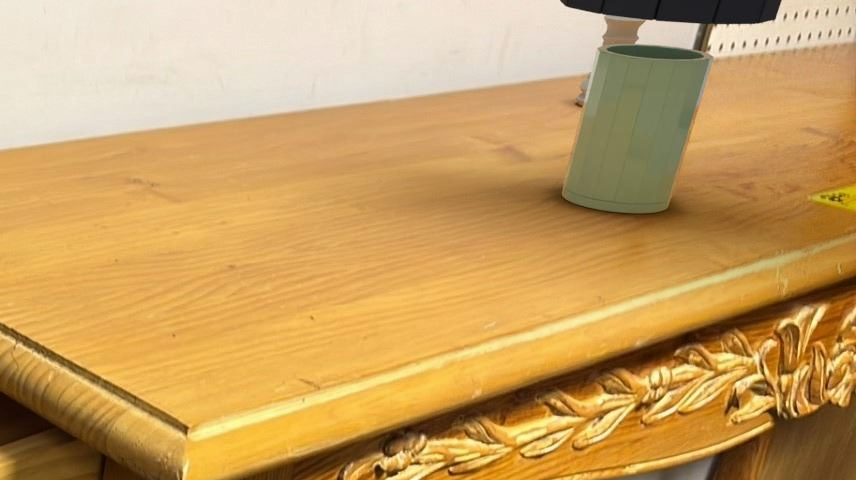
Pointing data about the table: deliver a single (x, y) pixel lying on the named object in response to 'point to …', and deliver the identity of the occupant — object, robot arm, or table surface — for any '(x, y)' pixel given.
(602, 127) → the cup
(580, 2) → the ring
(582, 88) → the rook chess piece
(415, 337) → the table surface
